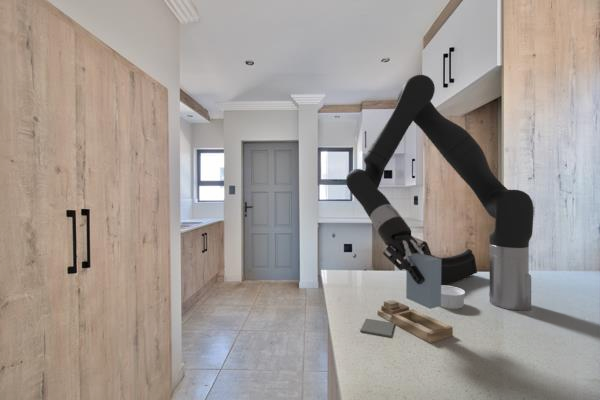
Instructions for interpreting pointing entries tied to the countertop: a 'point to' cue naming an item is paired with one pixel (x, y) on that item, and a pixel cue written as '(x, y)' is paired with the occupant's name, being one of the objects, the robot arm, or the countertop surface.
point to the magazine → (457, 267)
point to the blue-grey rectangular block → (431, 287)
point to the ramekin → (452, 297)
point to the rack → (402, 319)
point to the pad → (377, 327)
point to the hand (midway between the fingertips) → (428, 280)
